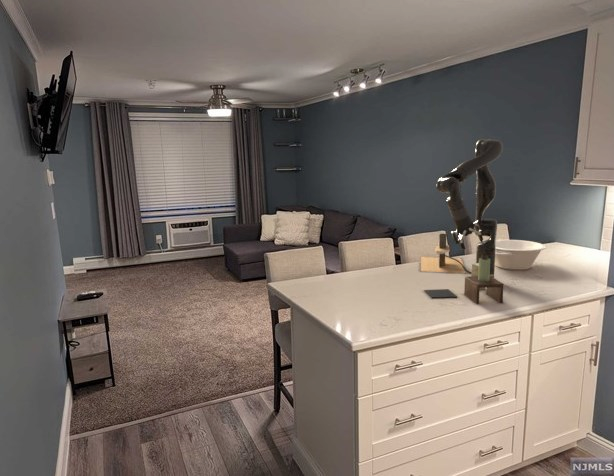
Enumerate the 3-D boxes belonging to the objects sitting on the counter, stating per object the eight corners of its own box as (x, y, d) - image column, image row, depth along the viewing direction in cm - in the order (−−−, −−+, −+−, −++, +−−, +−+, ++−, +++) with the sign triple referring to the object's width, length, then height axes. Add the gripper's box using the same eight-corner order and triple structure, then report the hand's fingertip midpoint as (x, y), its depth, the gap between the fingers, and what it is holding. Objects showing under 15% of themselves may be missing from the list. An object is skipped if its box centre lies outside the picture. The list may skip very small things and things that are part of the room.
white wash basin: (502, 256, 283) (503, 236, 281) (557, 265, 257) (559, 243, 255) (467, 268, 256) (468, 246, 253) (525, 278, 230) (526, 254, 228)
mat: (424, 290, 214) (424, 290, 214) (448, 290, 214) (448, 289, 214) (431, 298, 202) (431, 297, 202) (457, 297, 202) (457, 296, 202)
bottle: (476, 278, 200) (477, 253, 198) (486, 278, 200) (487, 253, 198) (480, 281, 196) (481, 256, 193) (491, 281, 196) (492, 255, 194)
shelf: (464, 294, 206) (464, 276, 205) (488, 293, 207) (489, 275, 205) (476, 304, 192) (477, 284, 191) (502, 303, 193) (503, 283, 191)
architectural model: (466, 273, 245) (467, 239, 242) (420, 271, 252) (421, 238, 248) (461, 258, 281) (462, 228, 278) (421, 257, 288) (422, 228, 285)
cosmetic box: (470, 286, 218) (471, 263, 216) (477, 285, 220) (478, 262, 218) (479, 290, 213) (480, 266, 211) (486, 289, 214) (487, 265, 212)
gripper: (472, 207, 203) (484, 236, 207) (444, 220, 205) (456, 248, 210) (478, 211, 196) (490, 241, 200) (448, 224, 198) (461, 254, 203)
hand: (472, 245), depth 205 cm, fingers open, 8 cm apart
